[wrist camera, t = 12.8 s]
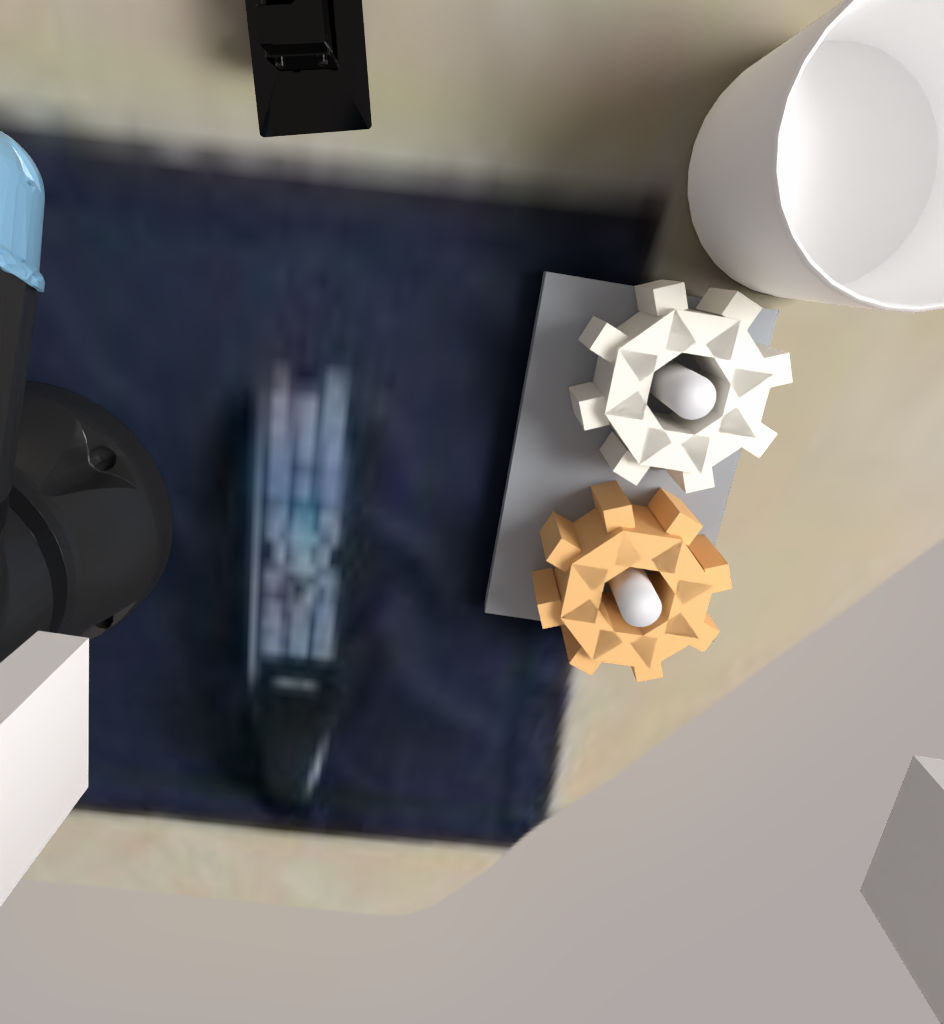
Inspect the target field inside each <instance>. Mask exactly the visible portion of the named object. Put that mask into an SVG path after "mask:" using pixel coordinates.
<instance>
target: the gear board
mask: <svg viewBox="0 0 944 1024" xmlns="http://www.w3.org/2000/svg"><path fill="white" fill-rule="evenodd" d="M686 297H687V304H688V309H691V310H697V309H696V307H697V305H698V304H699V303H700V301H701V300H702V297H696V296H690V295H686ZM697 311H699V310H697ZM638 312H639V310H638V305H637V299H636V293H635V287H634V286H630V285H624V284H618V283H612V282H606V281H600V280H594V279H588V278H582V277H576V276H570V275H564V274H558V273H552V272H546V271H544V273H543V279H542V284H541V290H540V296H539V301H538V307H537V312H536V318H535V324H534V329H533V335H532V340H531V346H530V351H529V357H528V363H527V368H526V374H525V379H524V385H523V391H522V396H521V402H520V407H519V413H518V419H517V424H516V430H515V435H514V441H513V446H512V452H511V458H510V463H509V469H508V474H507V480H506V486H505V491H504V497H503V502H502V508H501V513H500V519H499V525H498V530H497V536H496V541H495V547H494V553H493V558H492V564H491V569H490V575H489V581H488V586H487V592H486V597H485V613H491V614H497V615H504V616H511V617H518V618H525V619H531V620H538V621H541V619H540V614H539V610H538V606H537V601H536V595H535V589H534V583H533V577H532V572H533V571H538V570H542V569H547V568H553V569H554V565H553V564H551V563H549V562H547V561H546V558H545V553H544V549H543V545H542V540H541V536H540V530H541V529H542V527H543V526H544V524H545V523H546V521H547V520H548V518H549V517H550V515H551V514H552V512H553V511H554V512H556V513H557V514H559V515H561V516H563V517H564V518H566V519H568V520H569V521H571V522H572V523H573V522H575V521H576V520H578V519H579V518H581V517H582V516H584V515H585V514H587V513H588V512H590V511H591V510H593V509H594V508H595V505H594V500H593V495H592V490H591V486H593V485H597V484H602V483H606V482H610V481H615V480H616V481H617V482H618V484H619V486H620V487H621V489H622V490H623V492H624V494H625V495H626V497H627V498H628V500H629V502H630V503H631V504H634V505H641V506H647V507H648V503H649V502H650V501H651V499H652V498H653V496H654V495H655V494H656V492H657V491H658V490H659V488H660V487H661V488H663V489H664V490H666V491H667V492H669V493H671V494H672V495H674V496H675V497H677V498H679V499H680V500H682V502H683V503H684V504H685V505H686V506H687V508H688V509H689V510H690V511H691V512H692V514H693V515H694V516H695V517H696V518H697V519H698V521H699V522H700V523H701V524H702V525H703V527H702V529H701V530H700V531H699V533H698V534H697V535H696V536H698V535H703V534H704V535H705V536H706V537H707V538H708V540H709V541H710V542H711V543H712V544H713V546H715V543H716V539H717V535H718V532H719V528H720V525H721V521H722V517H723V514H724V510H725V506H726V503H727V499H728V495H729V492H730V488H731V484H732V481H733V477H734V473H735V470H736V466H737V462H738V459H739V455H740V451H741V448H742V447H741V448H740V449H738V450H737V451H735V452H734V453H732V454H731V455H729V456H728V457H726V458H725V459H723V460H722V461H720V462H718V463H717V464H715V465H714V466H712V472H713V478H714V485H715V487H713V488H708V489H704V490H699V491H695V492H690V493H685V492H684V491H683V489H682V488H681V487H680V486H679V485H678V484H677V483H676V481H675V480H674V479H673V478H672V477H671V476H670V475H669V474H668V472H667V471H666V470H665V468H659V467H652V466H650V468H649V469H648V470H647V472H646V473H645V475H644V476H643V477H642V479H641V480H640V482H639V483H638V484H637V486H636V485H635V484H633V483H631V482H630V481H628V480H626V479H625V478H623V477H622V476H620V475H618V474H617V473H615V472H613V471H612V469H611V468H610V466H609V464H608V463H607V461H606V460H605V458H604V456H603V455H602V453H601V452H600V450H599V449H600V448H601V446H602V445H603V443H604V442H605V440H606V439H607V437H608V436H609V434H610V433H611V432H612V431H613V432H614V430H613V429H612V427H611V426H610V425H606V426H602V427H598V428H593V429H589V430H584V429H583V427H582V425H581V424H580V422H579V421H578V419H577V417H576V416H575V414H574V412H573V407H572V402H571V397H570V392H569V387H571V386H575V385H579V384H584V383H588V382H592V383H593V378H594V373H595V369H596V364H597V359H598V354H596V353H595V352H593V351H591V350H590V349H589V348H587V347H586V346H585V345H584V344H583V343H581V342H580V341H579V340H578V339H579V337H580V336H581V334H582V332H583V331H584V329H585V328H586V326H587V325H588V323H589V322H590V320H591V318H592V317H593V316H595V317H597V318H599V319H601V320H603V321H605V322H607V323H608V324H610V325H611V326H613V327H615V328H617V327H618V326H620V325H621V324H622V323H624V322H625V321H627V320H628V319H630V318H631V317H632V316H634V315H635V314H637V313H638ZM778 312H779V310H774V309H768V308H762V309H761V311H760V312H759V314H758V315H757V316H756V318H755V319H754V321H753V322H752V324H751V325H750V326H749V328H748V329H747V331H748V333H749V334H750V336H751V338H752V339H753V341H754V343H759V344H763V345H766V346H769V345H770V342H771V338H772V334H773V331H774V327H775V323H776V320H777V316H778ZM700 371H701V369H700V367H699V366H698V364H697V362H696V361H695V359H694V358H693V356H692V354H688V353H681V354H679V355H678V356H676V357H675V358H673V359H672V360H670V361H669V362H668V363H666V364H665V365H663V366H662V367H660V368H659V369H657V370H656V371H655V372H654V374H653V378H652V382H651V387H650V391H649V395H648V400H647V406H648V407H649V409H650V410H651V411H652V412H658V413H665V414H671V413H672V412H675V413H677V414H678V415H679V416H680V417H682V418H685V419H689V420H695V419H699V418H702V417H704V416H705V415H707V414H708V413H709V412H710V411H711V410H712V408H713V406H714V404H715V401H716V390H715V387H714V385H713V384H712V382H711V381H710V380H708V379H707V378H705V377H703V376H701V375H700ZM649 573H650V570H648V569H641V568H634V567H629V568H627V569H626V570H624V571H623V572H621V573H619V574H618V575H616V576H615V577H613V578H612V579H610V580H609V581H607V582H605V583H604V588H603V592H606V593H613V595H614V597H615V600H616V602H617V605H618V607H619V610H620V612H621V615H622V617H623V619H624V620H625V621H626V622H627V623H628V624H630V625H632V626H635V627H645V626H648V625H651V624H652V623H654V622H655V621H656V620H657V619H658V618H659V616H660V614H661V610H662V604H661V601H660V599H659V597H658V595H657V593H656V591H655V590H654V588H653V586H652V584H651V582H650V580H649V578H648V577H649Z"/></svg>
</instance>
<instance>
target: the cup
mask: <svg viewBox="0 0 944 1024" xmlns="http://www.w3.org/2000/svg"><path fill="white" fill-rule="evenodd" d="M688 201H689V207H690V213H691V219H692V223H693V225H694V228H695V230H696V233H697V235H698V237H699V240H700V242H701V245H702V246H703V247H704V249H705V250H706V252H707V253H708V255H709V256H710V258H711V259H712V260H713V262H714V263H715V264H716V265H717V266H718V267H719V268H720V269H721V270H722V271H723V272H725V273H726V274H727V275H728V276H729V277H730V278H731V279H733V280H735V281H736V282H738V283H740V284H742V285H744V286H746V287H747V288H749V289H751V290H754V291H758V292H761V293H765V294H769V295H772V296H776V297H781V298H789V299H796V300H804V301H812V302H819V303H827V304H835V305H842V306H850V307H857V308H865V309H873V310H880V311H894V312H915V313H917V312H923V311H929V310H935V309H942V308H944V0H845V1H843V2H842V3H840V4H839V5H837V6H836V7H835V8H833V9H832V10H830V11H829V12H827V13H826V14H825V15H823V16H822V17H820V18H819V19H817V20H816V21H815V22H813V23H812V24H810V25H809V26H807V27H806V28H805V29H803V30H802V31H800V32H799V33H797V34H796V35H794V36H793V37H792V38H790V39H789V40H787V41H786V42H784V43H783V44H782V45H780V46H779V47H777V48H776V49H774V50H773V51H772V52H770V53H769V54H767V55H766V56H764V57H763V58H762V59H760V60H759V61H757V62H756V63H754V64H753V65H751V66H750V67H749V68H747V69H746V70H744V71H743V72H742V73H741V74H740V75H739V76H738V77H737V78H736V79H735V80H734V81H733V82H732V83H731V84H730V85H729V86H728V87H727V88H726V89H725V90H724V91H723V92H722V93H721V95H720V96H719V98H718V99H717V101H716V102H715V104H714V105H713V107H712V108H711V110H710V111H709V113H708V114H707V116H706V117H705V119H704V121H703V124H702V126H701V129H700V131H699V133H698V136H697V138H696V140H695V143H694V146H693V151H692V156H691V160H690V165H689V169H688Z"/></svg>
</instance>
